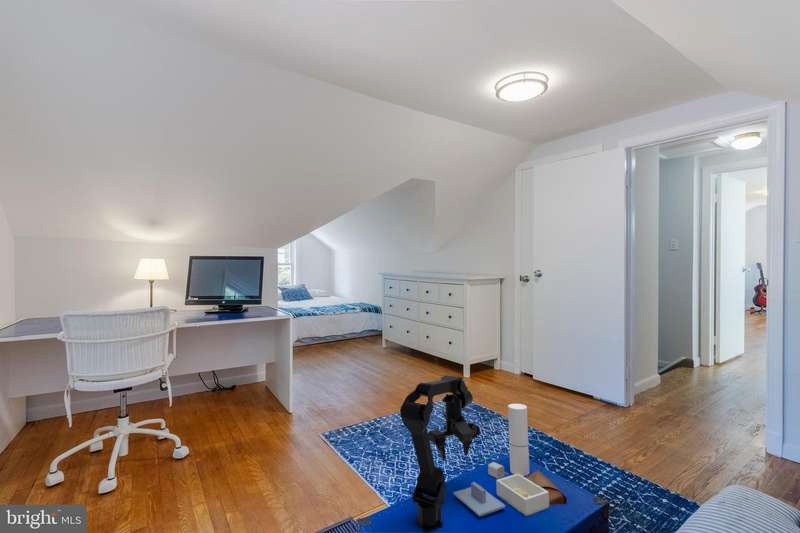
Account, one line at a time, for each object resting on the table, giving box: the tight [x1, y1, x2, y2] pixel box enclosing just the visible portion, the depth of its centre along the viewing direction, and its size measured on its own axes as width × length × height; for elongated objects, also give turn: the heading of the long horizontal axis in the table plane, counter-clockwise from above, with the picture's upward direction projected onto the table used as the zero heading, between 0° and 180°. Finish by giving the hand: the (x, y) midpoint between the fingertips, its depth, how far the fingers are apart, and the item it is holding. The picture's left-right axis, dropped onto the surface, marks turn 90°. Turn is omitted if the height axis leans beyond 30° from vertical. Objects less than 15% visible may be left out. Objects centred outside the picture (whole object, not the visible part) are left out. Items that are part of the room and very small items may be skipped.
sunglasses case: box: [525, 469, 568, 506], centre depth 135 cm, size 18×7×7 cm, turn 9°
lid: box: [452, 481, 506, 517], centre depth 127 cm, size 10×14×6 cm
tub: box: [495, 474, 550, 517], centre depth 129 cm, size 10×14×5 cm
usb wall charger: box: [487, 461, 509, 480], centre depth 145 cm, size 4×7×4 cm, turn 36°
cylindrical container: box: [507, 403, 530, 477], centre depth 150 cm, size 7×7×25 cm
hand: (454, 457), depth 133 cm, fingers open, 9 cm apart
